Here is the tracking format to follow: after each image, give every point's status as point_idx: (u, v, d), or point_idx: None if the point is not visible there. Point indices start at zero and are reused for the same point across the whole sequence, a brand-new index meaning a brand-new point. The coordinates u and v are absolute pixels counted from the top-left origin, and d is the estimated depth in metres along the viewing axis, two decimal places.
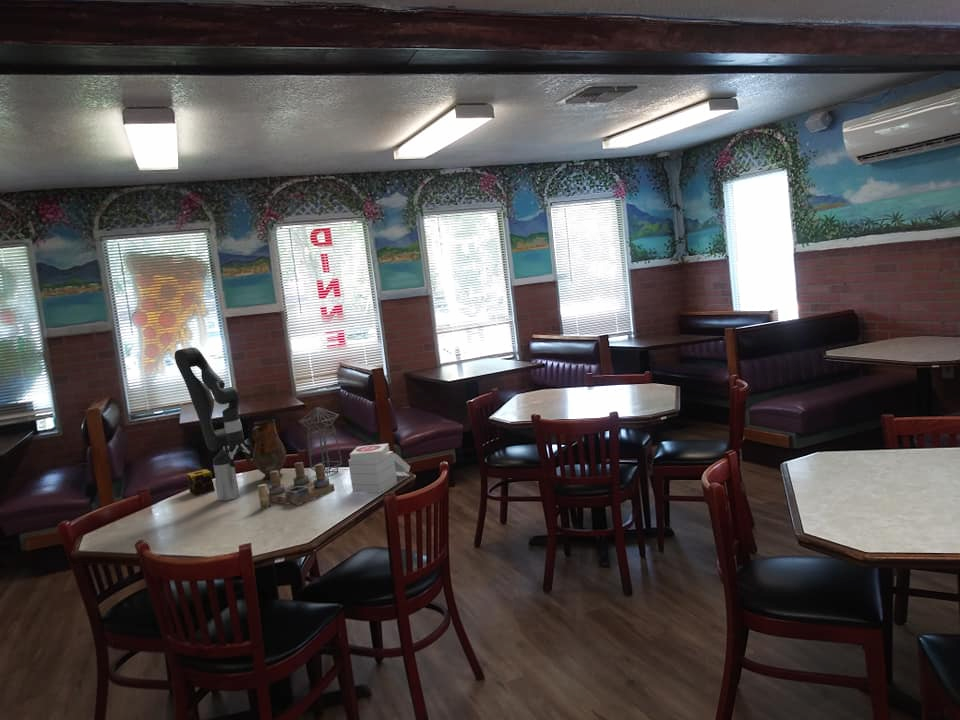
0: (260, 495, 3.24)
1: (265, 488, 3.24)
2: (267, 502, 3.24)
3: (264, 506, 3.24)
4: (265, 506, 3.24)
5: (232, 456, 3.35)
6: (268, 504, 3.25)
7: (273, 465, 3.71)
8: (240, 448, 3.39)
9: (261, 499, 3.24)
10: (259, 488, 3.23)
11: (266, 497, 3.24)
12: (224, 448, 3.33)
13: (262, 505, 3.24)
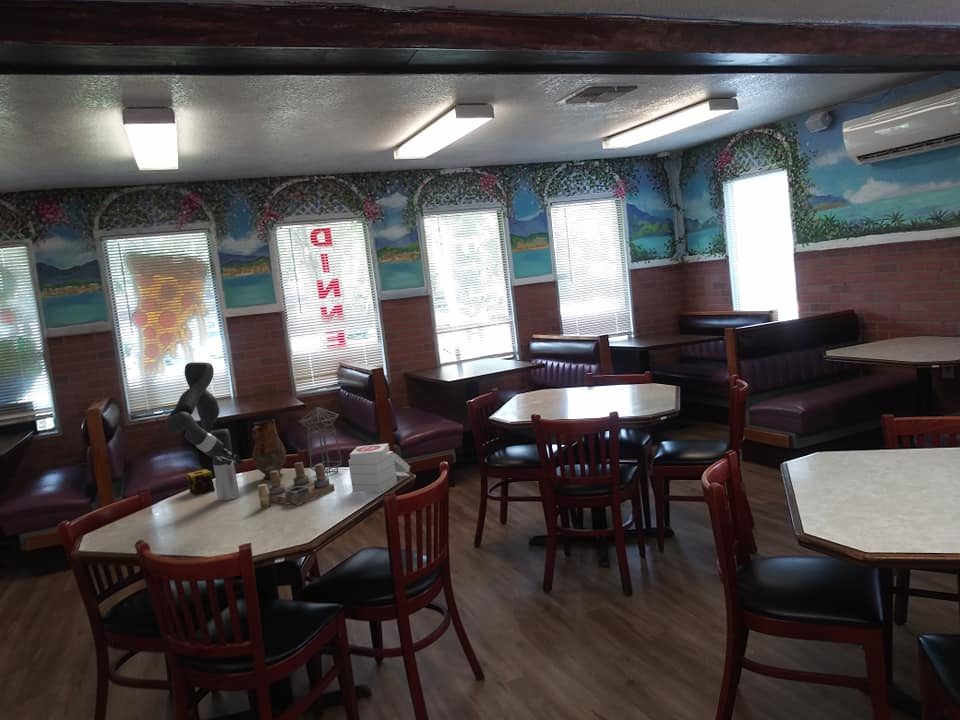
0: (260, 495, 3.24)
1: (265, 488, 3.24)
2: (267, 502, 3.24)
3: (264, 506, 3.24)
4: (265, 506, 3.24)
5: (220, 459, 3.13)
6: (268, 504, 3.25)
7: (273, 465, 3.71)
8: None
9: (261, 499, 3.24)
10: (259, 488, 3.23)
11: (266, 497, 3.24)
12: None
13: (262, 505, 3.24)
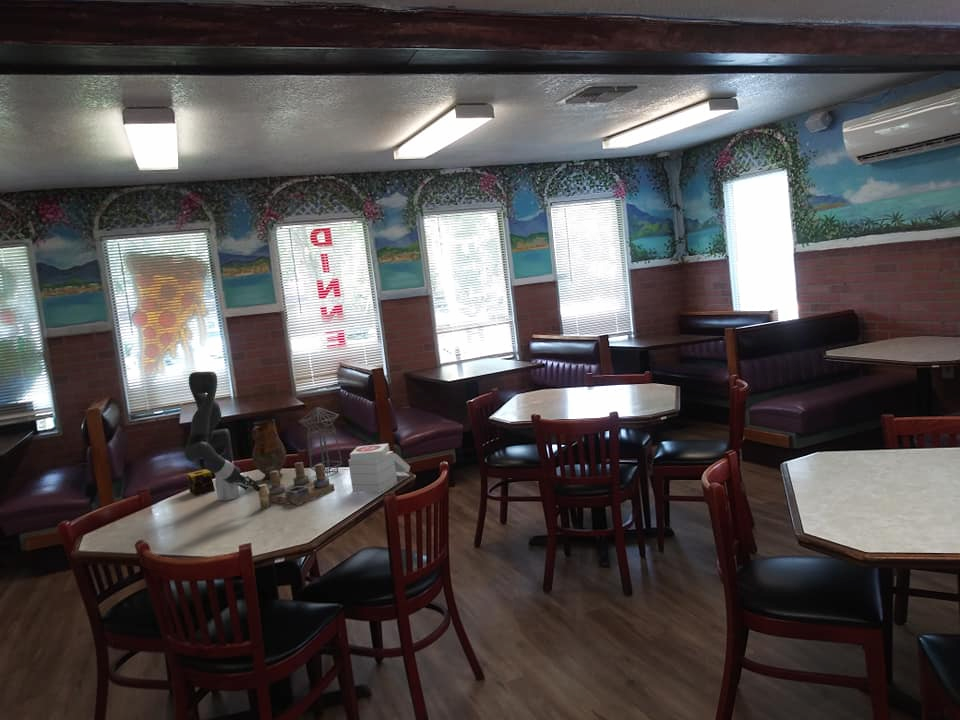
0: (260, 495, 3.24)
1: (265, 488, 3.24)
2: (267, 502, 3.24)
3: (264, 506, 3.24)
4: (265, 506, 3.24)
5: (238, 485, 3.20)
6: (268, 504, 3.25)
7: (273, 465, 3.71)
8: None
9: (261, 499, 3.24)
10: None
11: (266, 497, 3.24)
12: None
13: (262, 505, 3.24)
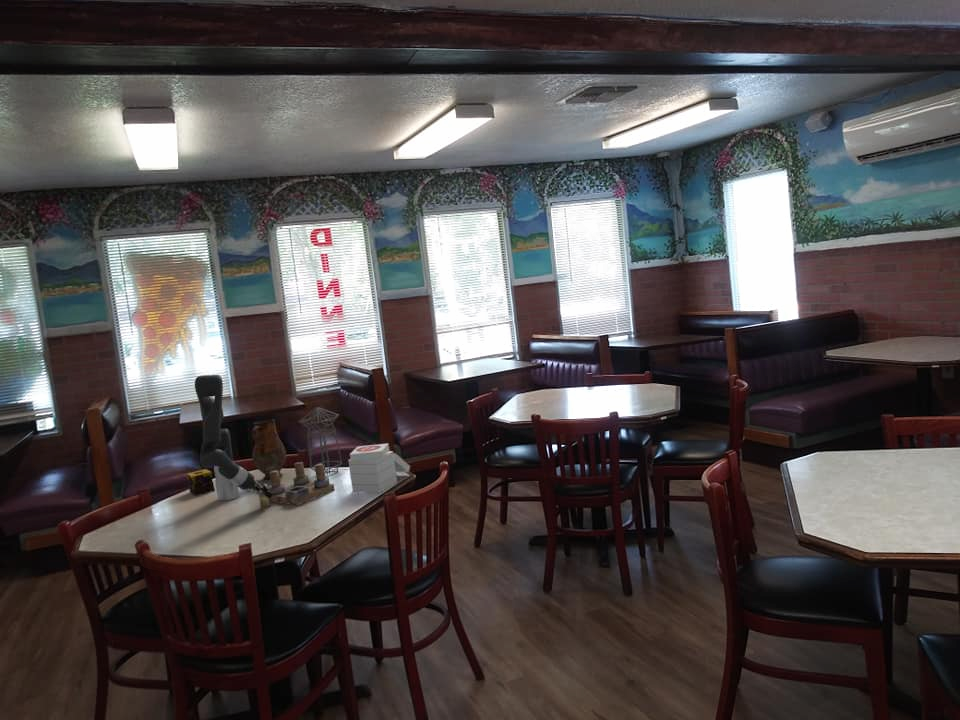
0: (260, 495, 3.24)
1: None
2: (267, 502, 3.24)
3: (264, 506, 3.24)
4: (265, 506, 3.24)
5: (255, 492, 3.25)
6: (268, 504, 3.25)
7: (273, 465, 3.71)
8: None
9: (261, 499, 3.24)
10: None
11: (266, 497, 3.24)
12: None
13: (262, 505, 3.24)
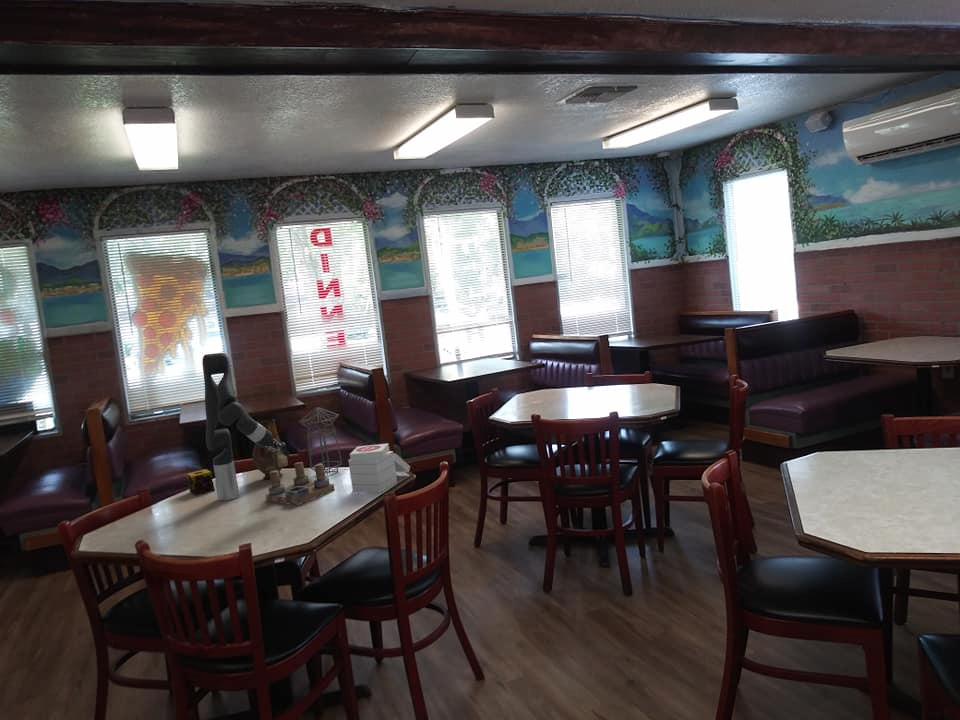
0: (278, 453, 3.22)
1: None
2: (285, 460, 3.23)
3: (282, 464, 3.23)
4: (283, 464, 3.23)
5: (273, 450, 3.24)
6: (286, 462, 3.24)
7: (273, 465, 3.71)
8: None
9: (279, 457, 3.23)
10: None
11: (284, 455, 3.23)
12: None
13: (280, 463, 3.23)
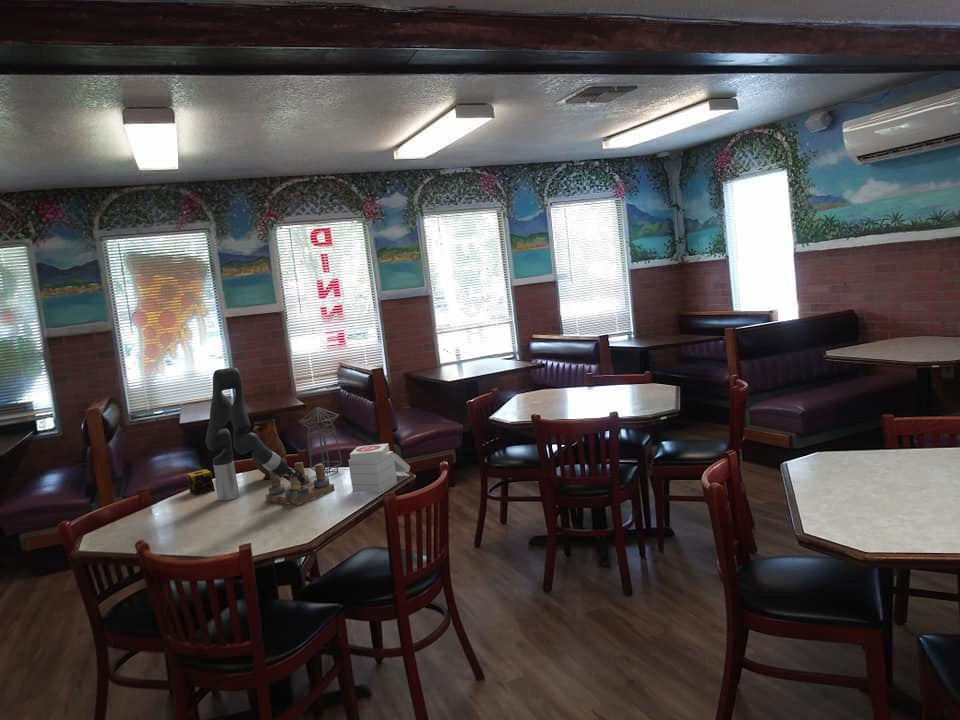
0: (292, 484, 3.25)
1: None
2: None
3: None
4: None
5: (283, 477, 3.27)
6: None
7: None
8: None
9: (293, 487, 3.25)
10: None
11: (298, 485, 3.26)
12: None
13: None
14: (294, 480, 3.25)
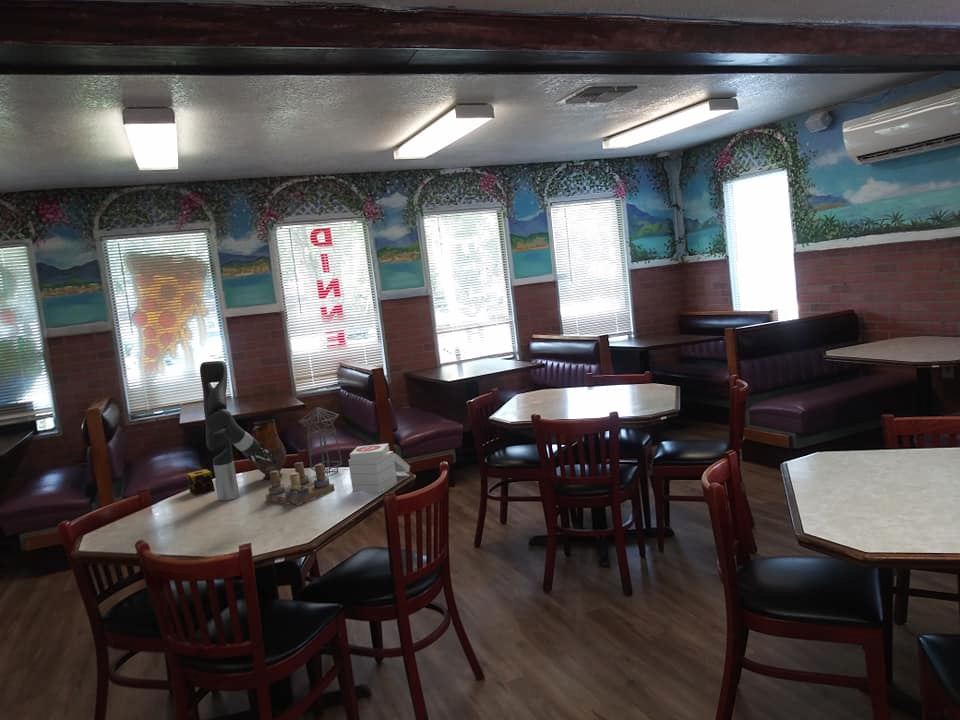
0: (292, 483, 3.25)
1: (297, 476, 3.25)
2: None
3: None
4: None
5: (254, 460, 3.16)
6: None
7: (273, 465, 3.71)
8: None
9: (293, 487, 3.25)
10: (291, 476, 3.25)
11: (298, 485, 3.26)
12: None
13: None
14: (295, 480, 3.25)
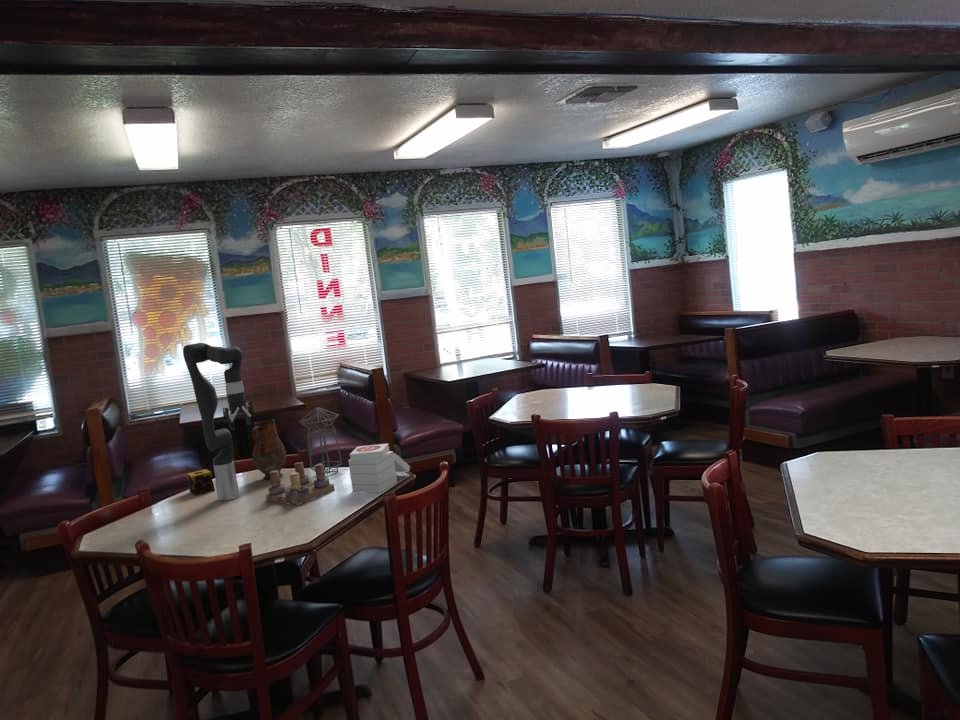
0: (292, 483, 3.25)
1: (297, 476, 3.25)
2: None
3: None
4: None
5: (232, 418, 3.23)
6: None
7: (273, 465, 3.71)
8: (241, 410, 3.26)
9: (293, 487, 3.25)
10: (291, 477, 3.25)
11: (298, 485, 3.26)
12: (224, 410, 3.21)
13: None
14: (295, 480, 3.25)
